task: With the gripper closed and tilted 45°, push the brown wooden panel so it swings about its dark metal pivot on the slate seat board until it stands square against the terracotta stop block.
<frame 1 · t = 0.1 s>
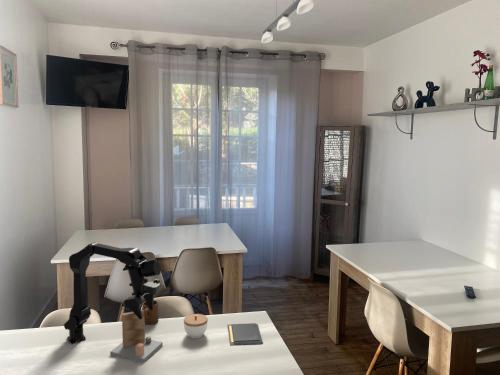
hand: (146, 314, 162), 15 cm above the table, tool pointing down, fingers open, 9 cm apart
grey book: (244, 335, 178), on the table
brown wooden panel: (133, 328, 163), point 9 cm above the table, hinge at -45.0°
lidded jar: (195, 335, 177), on the table
mug: (149, 324, 188), on the table
seat board: (137, 350, 163), on the table
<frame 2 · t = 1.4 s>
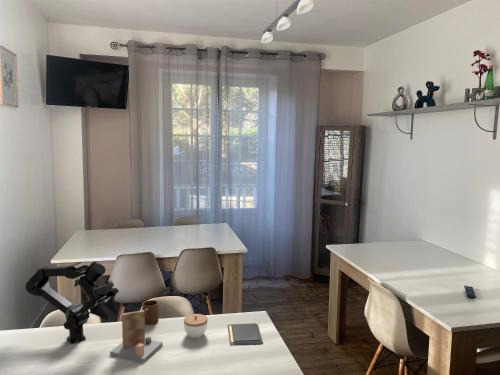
hand: (112, 316, 164), 14 cm above the table, tool tilted 45°, fingers open, 5 cm apart
nothing on the table moved.
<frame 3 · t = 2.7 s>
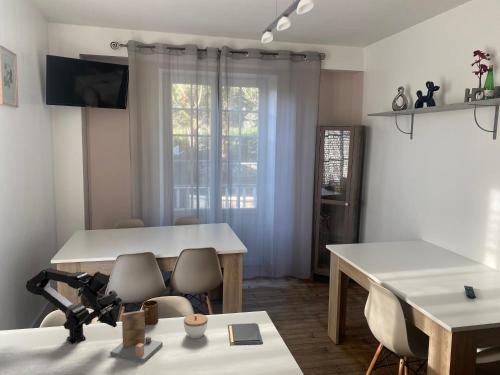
hand: (115, 326, 164), 9 cm above the table, tool tilted 45°, fingers closed
nothing on the table moved.
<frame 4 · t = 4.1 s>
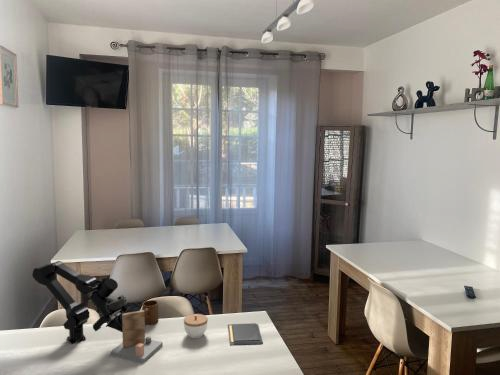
hand: (124, 331, 163), 8 cm above the table, tool tilted 45°, fingers closed
brown wooden panel: (133, 328, 163), point 9 cm above the table, hinge at -44.3°, touching gripper
everything else where it was.
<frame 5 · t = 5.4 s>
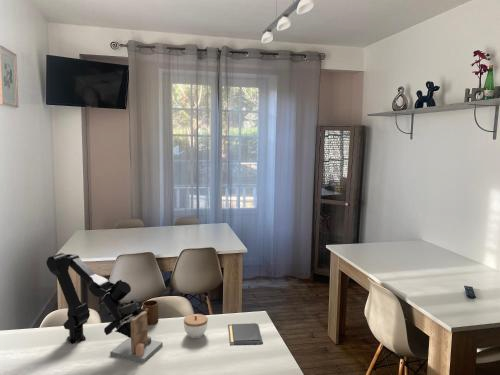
hand: (135, 337, 160), 7 cm above the table, tool tilted 45°, fingers closed on brown wooden panel, 2 cm apart
brown wooden panel: (139, 331, 160), point 9 cm above the table, hinge at -2.2°, touching gripper
everything else where it was.
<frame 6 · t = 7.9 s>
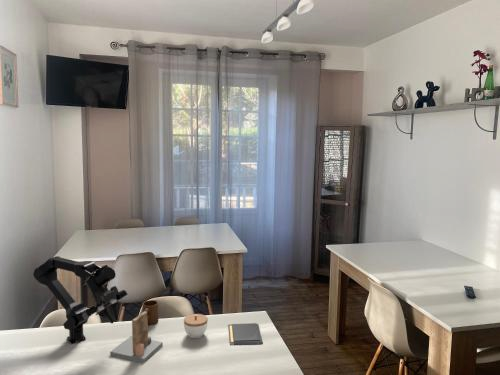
hand: (114, 322, 163), 12 cm above the table, tool tilted 35°, fingers closed
brown wooden panel: (140, 332, 160), point 9 cm above the table, hinge at 1.7°, touching seat board
everything else where it was.
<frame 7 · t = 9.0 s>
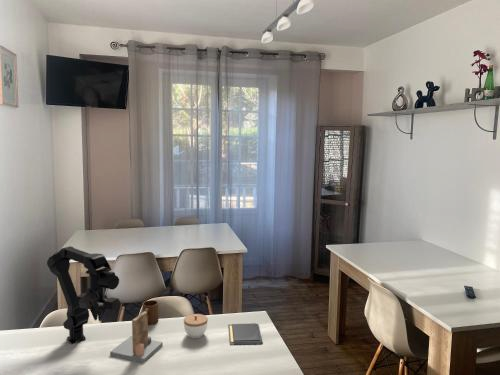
hand: (97, 320, 164), 12 cm above the table, tool pointing down, fingers closed
nothing on the table moved.
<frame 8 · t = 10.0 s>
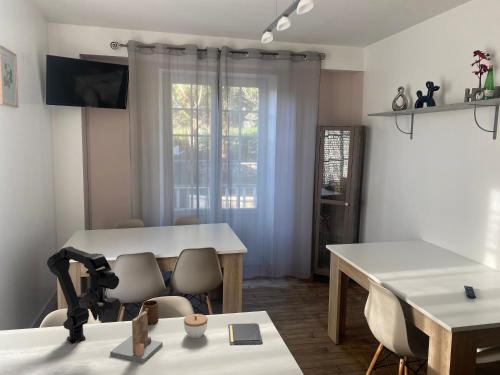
hand: (97, 320, 164), 12 cm above the table, tool pointing down, fingers closed
nothing on the table moved.
at the end: brown wooden panel at +2° (first picture: -45°); mug moved 0.2 cm from its start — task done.
